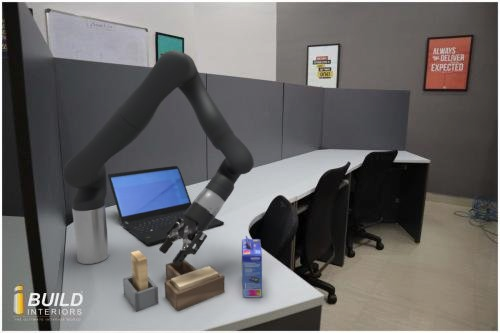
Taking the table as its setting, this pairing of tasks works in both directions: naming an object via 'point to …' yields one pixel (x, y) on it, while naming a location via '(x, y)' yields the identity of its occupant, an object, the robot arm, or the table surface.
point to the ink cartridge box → (252, 268)
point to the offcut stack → (193, 278)
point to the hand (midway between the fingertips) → (168, 257)
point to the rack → (194, 293)
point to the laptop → (151, 201)
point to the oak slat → (139, 271)
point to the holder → (140, 294)
